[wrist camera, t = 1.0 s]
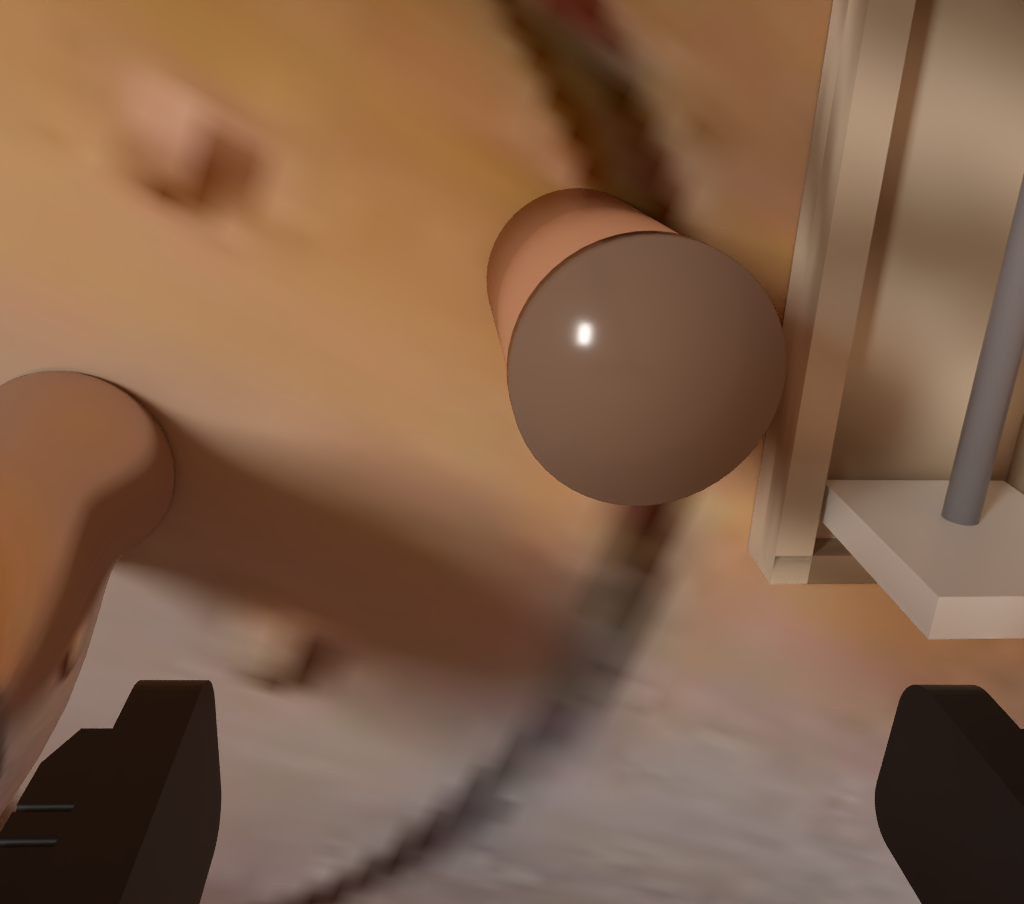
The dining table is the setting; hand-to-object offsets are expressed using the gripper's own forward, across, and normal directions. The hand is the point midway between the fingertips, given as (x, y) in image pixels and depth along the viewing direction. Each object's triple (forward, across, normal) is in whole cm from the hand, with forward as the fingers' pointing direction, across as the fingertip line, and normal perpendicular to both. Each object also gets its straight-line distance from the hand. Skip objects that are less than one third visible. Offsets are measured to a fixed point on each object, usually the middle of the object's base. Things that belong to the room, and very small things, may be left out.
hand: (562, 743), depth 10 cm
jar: (+18, -3, -2) cm, 18 cm away
